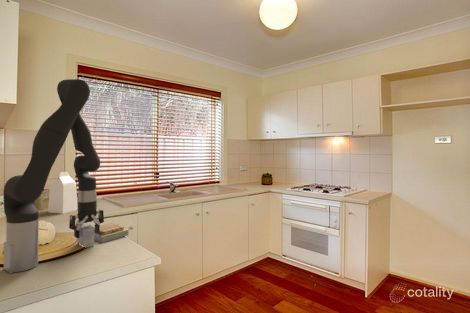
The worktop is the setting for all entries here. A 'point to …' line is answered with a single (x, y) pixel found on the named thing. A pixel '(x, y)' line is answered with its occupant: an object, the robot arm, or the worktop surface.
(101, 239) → the dock
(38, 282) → the worktop surface
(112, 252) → the worktop surface
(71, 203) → the milk
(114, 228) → the pallet
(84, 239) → the medicine box
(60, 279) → the worktop surface
